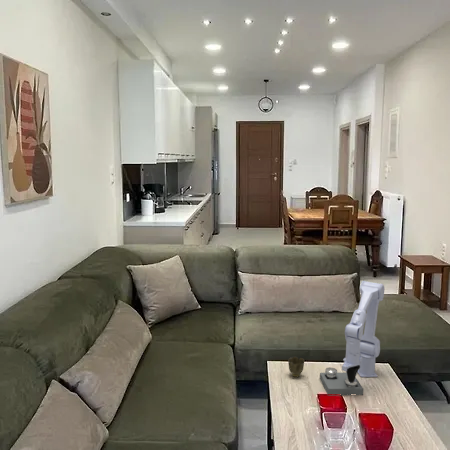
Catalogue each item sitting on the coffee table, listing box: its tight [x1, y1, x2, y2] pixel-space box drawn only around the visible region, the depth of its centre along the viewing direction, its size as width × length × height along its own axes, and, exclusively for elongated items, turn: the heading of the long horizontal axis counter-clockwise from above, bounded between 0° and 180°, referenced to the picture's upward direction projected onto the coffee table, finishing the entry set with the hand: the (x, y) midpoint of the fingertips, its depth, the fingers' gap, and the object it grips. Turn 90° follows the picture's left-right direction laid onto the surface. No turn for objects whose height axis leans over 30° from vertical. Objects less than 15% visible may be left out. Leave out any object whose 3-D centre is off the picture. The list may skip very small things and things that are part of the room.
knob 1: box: [324, 366, 338, 379], centre depth 211 cm, size 5×5×4 cm
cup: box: [287, 356, 305, 378], centre depth 217 cm, size 8×7×8 cm
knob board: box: [319, 371, 364, 396], centre depth 208 cm, size 15×15×3 cm
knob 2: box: [345, 378, 358, 387], centre depth 204 cm, size 5×5×4 cm
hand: (351, 381), depth 204 cm, fingers closed, pressing on knob 2
